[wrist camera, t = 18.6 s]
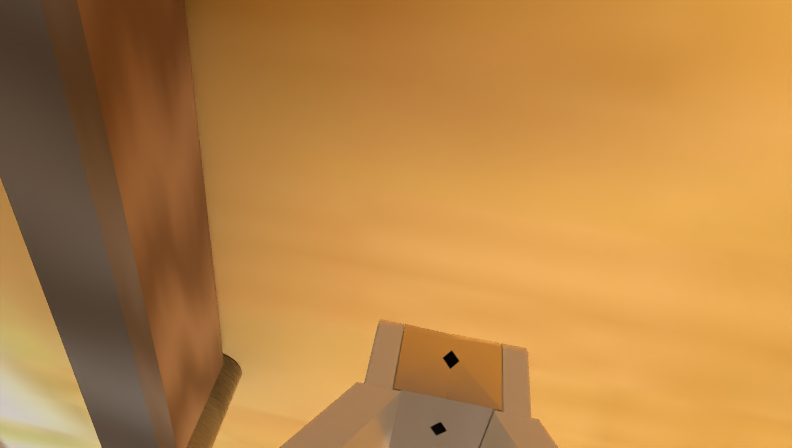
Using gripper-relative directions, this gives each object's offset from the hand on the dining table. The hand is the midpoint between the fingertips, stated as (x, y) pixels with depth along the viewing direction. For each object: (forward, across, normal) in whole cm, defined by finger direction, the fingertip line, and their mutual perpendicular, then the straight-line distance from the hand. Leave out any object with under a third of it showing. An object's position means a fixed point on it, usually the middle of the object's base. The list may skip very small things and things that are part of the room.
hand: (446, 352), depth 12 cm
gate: (+7, +9, +3) cm, 12 cm away
